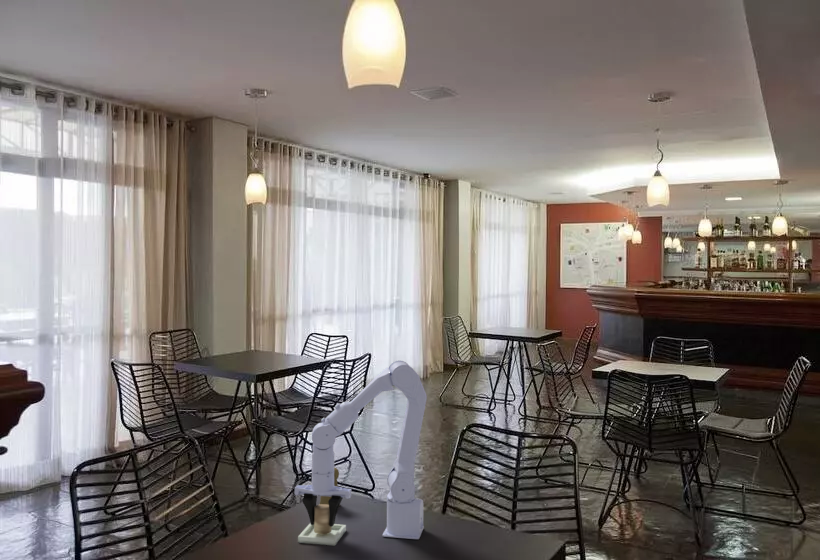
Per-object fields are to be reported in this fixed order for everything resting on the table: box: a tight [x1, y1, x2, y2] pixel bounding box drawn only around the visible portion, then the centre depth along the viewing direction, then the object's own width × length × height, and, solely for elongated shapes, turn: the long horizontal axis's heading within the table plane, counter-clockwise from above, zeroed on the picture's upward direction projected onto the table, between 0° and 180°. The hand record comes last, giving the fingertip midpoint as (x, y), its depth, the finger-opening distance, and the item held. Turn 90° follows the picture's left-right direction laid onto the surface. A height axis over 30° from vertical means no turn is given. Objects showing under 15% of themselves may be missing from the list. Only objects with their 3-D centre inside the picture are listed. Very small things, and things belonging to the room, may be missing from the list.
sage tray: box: [297, 522, 347, 547], centre depth 162 cm, size 10×10×2 cm
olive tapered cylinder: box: [319, 466, 341, 507], centre depth 184 cm, size 6×6×11 cm
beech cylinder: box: [314, 504, 332, 534], centre depth 162 cm, size 4×4×6 cm
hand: (322, 524), depth 162 cm, fingers closed on beech cylinder, 4 cm apart
